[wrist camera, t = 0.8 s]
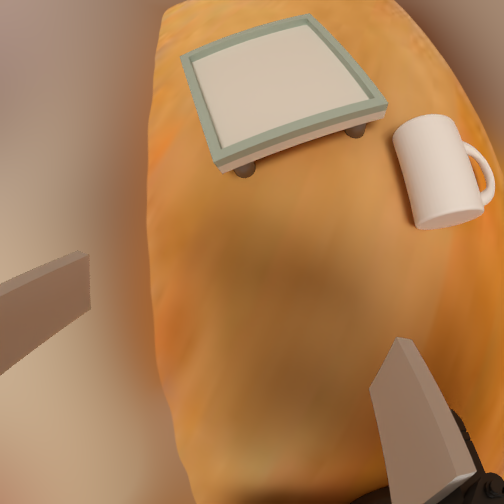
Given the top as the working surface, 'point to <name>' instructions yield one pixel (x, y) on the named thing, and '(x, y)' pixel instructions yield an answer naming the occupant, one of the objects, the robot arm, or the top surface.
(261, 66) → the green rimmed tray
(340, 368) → the top surface
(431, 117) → the mug
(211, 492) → the top surface
